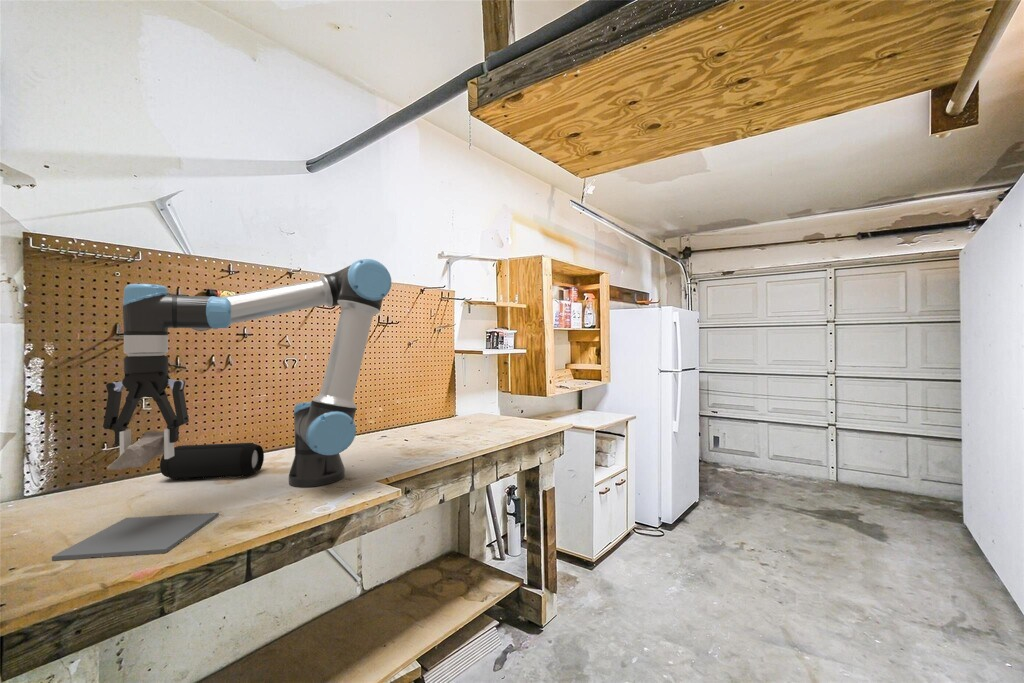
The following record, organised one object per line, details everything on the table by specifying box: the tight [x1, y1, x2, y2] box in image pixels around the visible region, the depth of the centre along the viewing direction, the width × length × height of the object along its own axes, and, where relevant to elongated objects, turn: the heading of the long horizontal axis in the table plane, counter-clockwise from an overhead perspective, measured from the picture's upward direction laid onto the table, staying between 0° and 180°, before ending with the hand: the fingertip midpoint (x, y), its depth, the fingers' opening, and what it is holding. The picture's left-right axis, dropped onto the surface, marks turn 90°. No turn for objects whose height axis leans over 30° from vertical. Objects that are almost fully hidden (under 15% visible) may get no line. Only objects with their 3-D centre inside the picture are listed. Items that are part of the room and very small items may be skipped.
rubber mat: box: [51, 512, 220, 562], centre depth 92 cm, size 20×18×1 cm
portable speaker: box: [159, 442, 265, 480], centre depth 132 cm, size 26×10×10 cm, turn 96°
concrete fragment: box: [106, 429, 164, 471], centre depth 94 cm, size 7×14×6 cm, turn 2°
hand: (147, 458), depth 95 cm, fingers closed on concrete fragment, 7 cm apart
